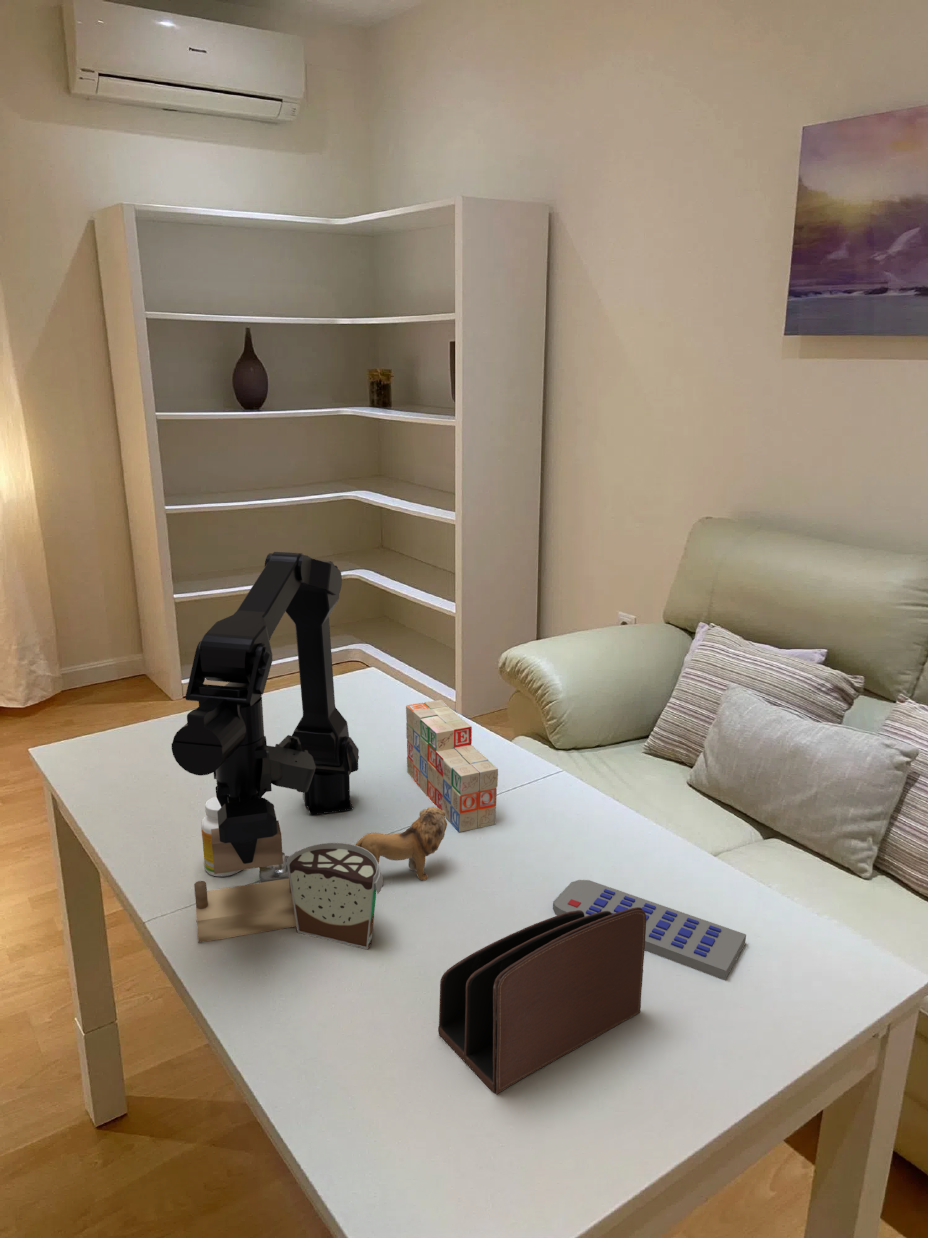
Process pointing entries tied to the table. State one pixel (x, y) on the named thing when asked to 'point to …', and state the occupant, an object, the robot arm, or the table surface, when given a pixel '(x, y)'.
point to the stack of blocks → (450, 765)
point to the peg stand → (243, 909)
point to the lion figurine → (410, 841)
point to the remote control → (661, 927)
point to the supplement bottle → (207, 824)
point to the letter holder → (543, 992)
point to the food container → (335, 892)
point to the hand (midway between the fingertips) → (246, 854)
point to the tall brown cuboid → (265, 854)
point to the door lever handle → (274, 871)
